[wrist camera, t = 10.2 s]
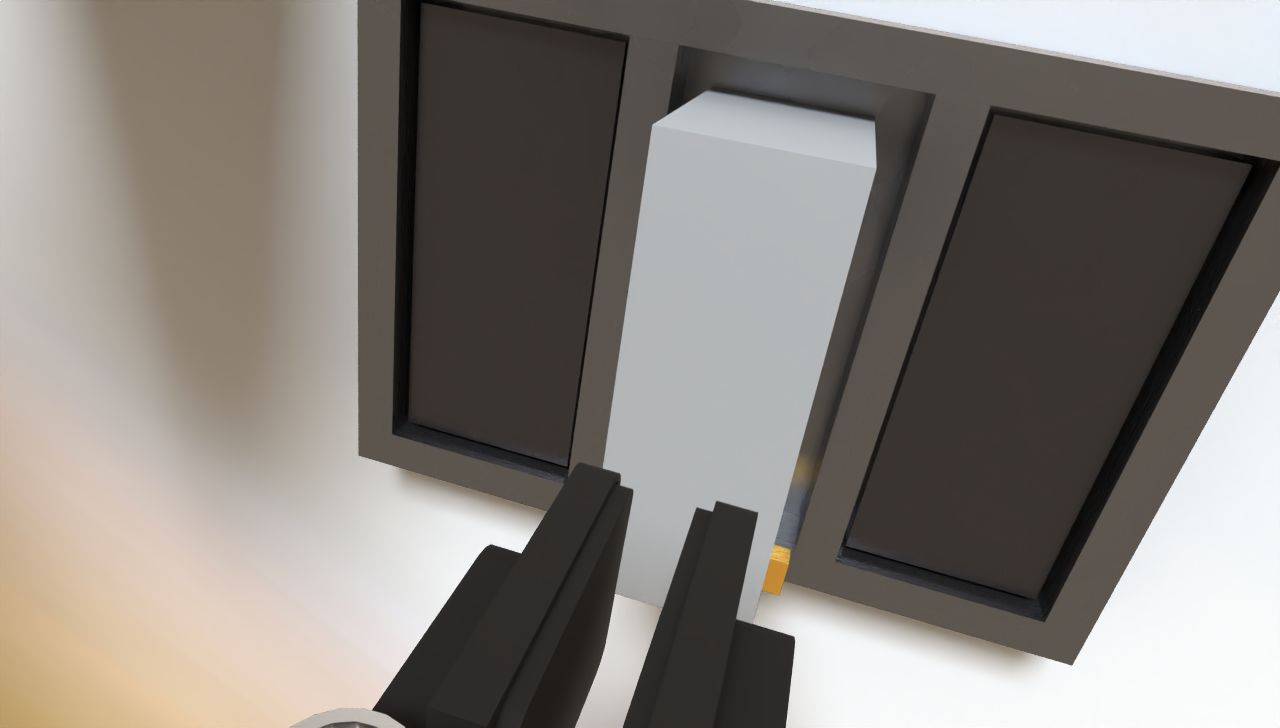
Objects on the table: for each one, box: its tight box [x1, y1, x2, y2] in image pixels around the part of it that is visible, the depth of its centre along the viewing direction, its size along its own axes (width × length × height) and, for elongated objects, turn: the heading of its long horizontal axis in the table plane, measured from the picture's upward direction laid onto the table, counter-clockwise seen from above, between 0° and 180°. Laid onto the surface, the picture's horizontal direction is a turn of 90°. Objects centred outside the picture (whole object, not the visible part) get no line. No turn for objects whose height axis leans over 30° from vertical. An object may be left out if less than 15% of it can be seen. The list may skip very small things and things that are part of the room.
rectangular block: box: [603, 87, 877, 624], centre depth 17 cm, size 10×4×6 cm, turn 172°
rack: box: [358, 0, 1280, 665], centre depth 19 cm, size 13×19×3 cm
